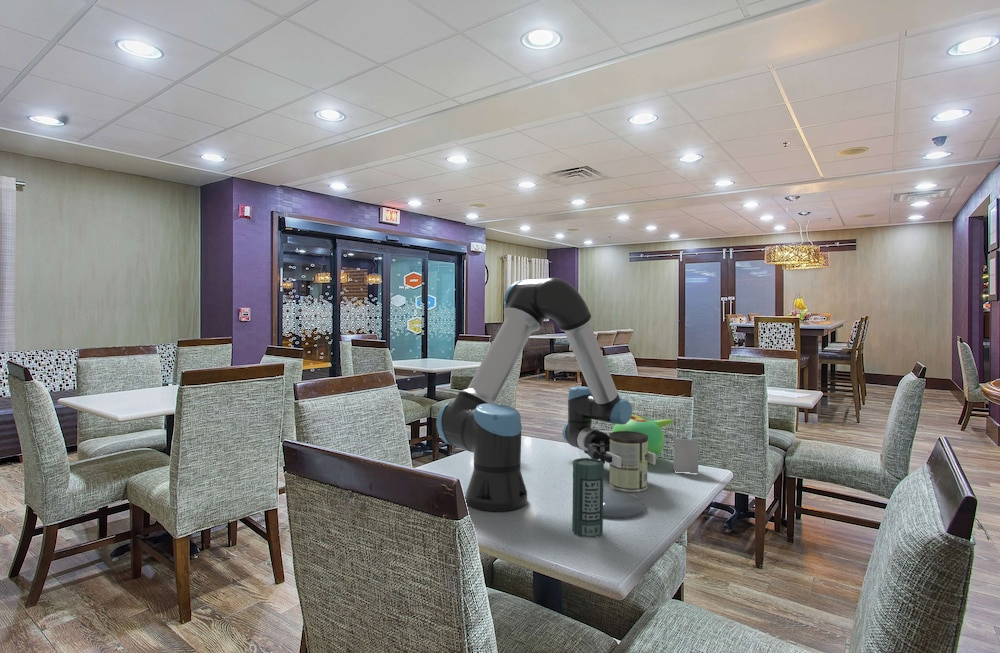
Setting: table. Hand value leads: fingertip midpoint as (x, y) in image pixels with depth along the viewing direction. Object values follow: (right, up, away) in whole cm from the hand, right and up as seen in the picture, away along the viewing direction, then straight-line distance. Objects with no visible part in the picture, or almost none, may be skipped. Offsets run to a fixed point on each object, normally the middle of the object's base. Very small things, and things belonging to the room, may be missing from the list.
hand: (637, 461), depth 141 cm
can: (-18, -8, -27) cm, 34 cm away
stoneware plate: (-10, -8, -12) cm, 17 cm away
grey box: (+19, -8, +18) cm, 27 cm away
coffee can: (-2, -8, +4) cm, 9 cm away
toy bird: (+9, -8, +34) cm, 36 cm away
